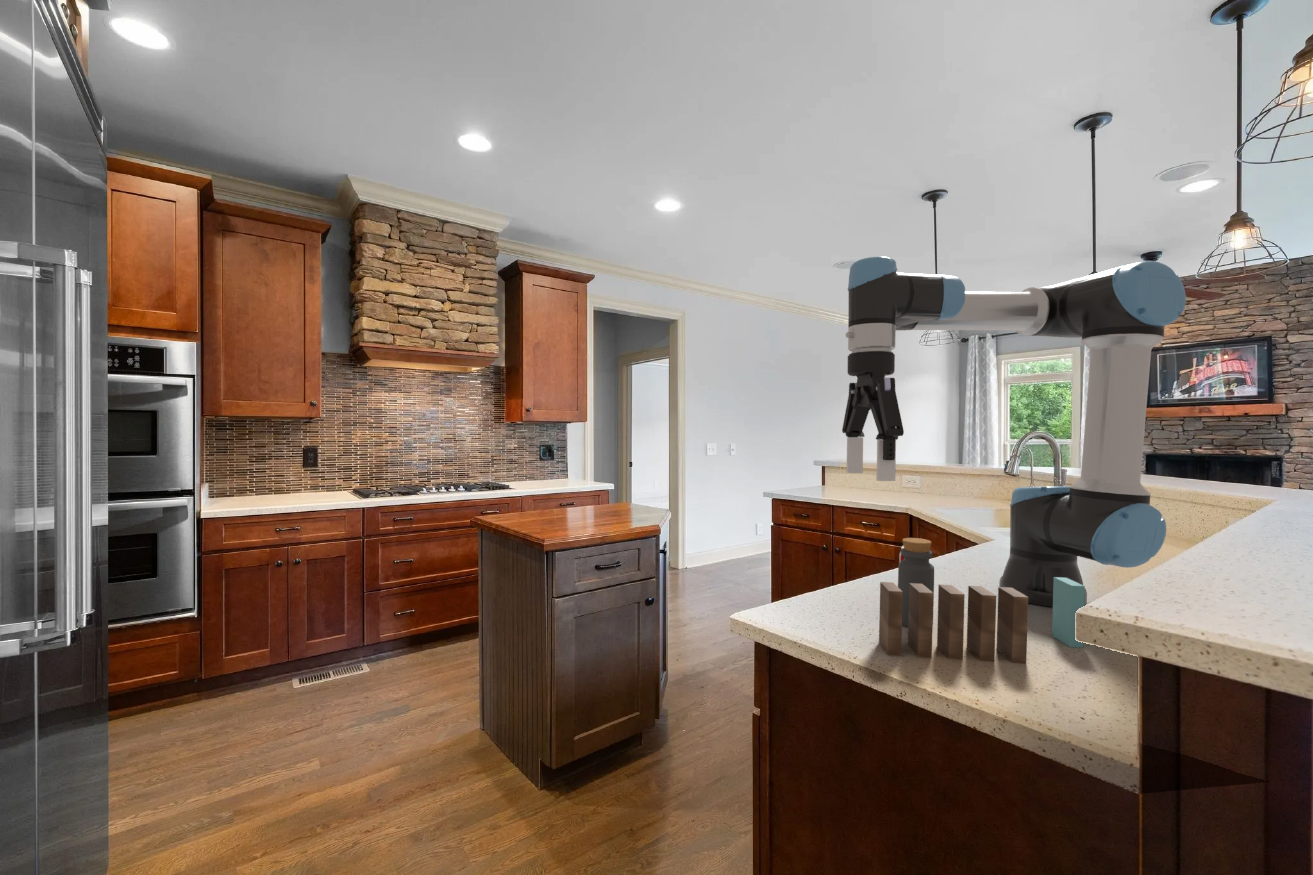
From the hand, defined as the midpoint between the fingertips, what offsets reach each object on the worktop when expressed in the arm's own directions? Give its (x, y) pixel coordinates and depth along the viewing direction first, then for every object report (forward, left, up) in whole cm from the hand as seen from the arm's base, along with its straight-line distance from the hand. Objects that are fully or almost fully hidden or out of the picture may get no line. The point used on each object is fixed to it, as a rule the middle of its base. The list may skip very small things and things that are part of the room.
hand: (869, 476), depth 98 cm
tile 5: (-4, +9, -27) cm, 28 cm away
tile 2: (-17, +13, -27) cm, 34 cm away
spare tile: (-31, +9, -27) cm, 42 cm away
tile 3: (-13, +12, -27) cm, 32 cm away
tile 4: (-8, +11, -27) cm, 30 cm away
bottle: (-10, -2, -27) cm, 29 cm away
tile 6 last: (0, +8, -27) cm, 28 cm away
